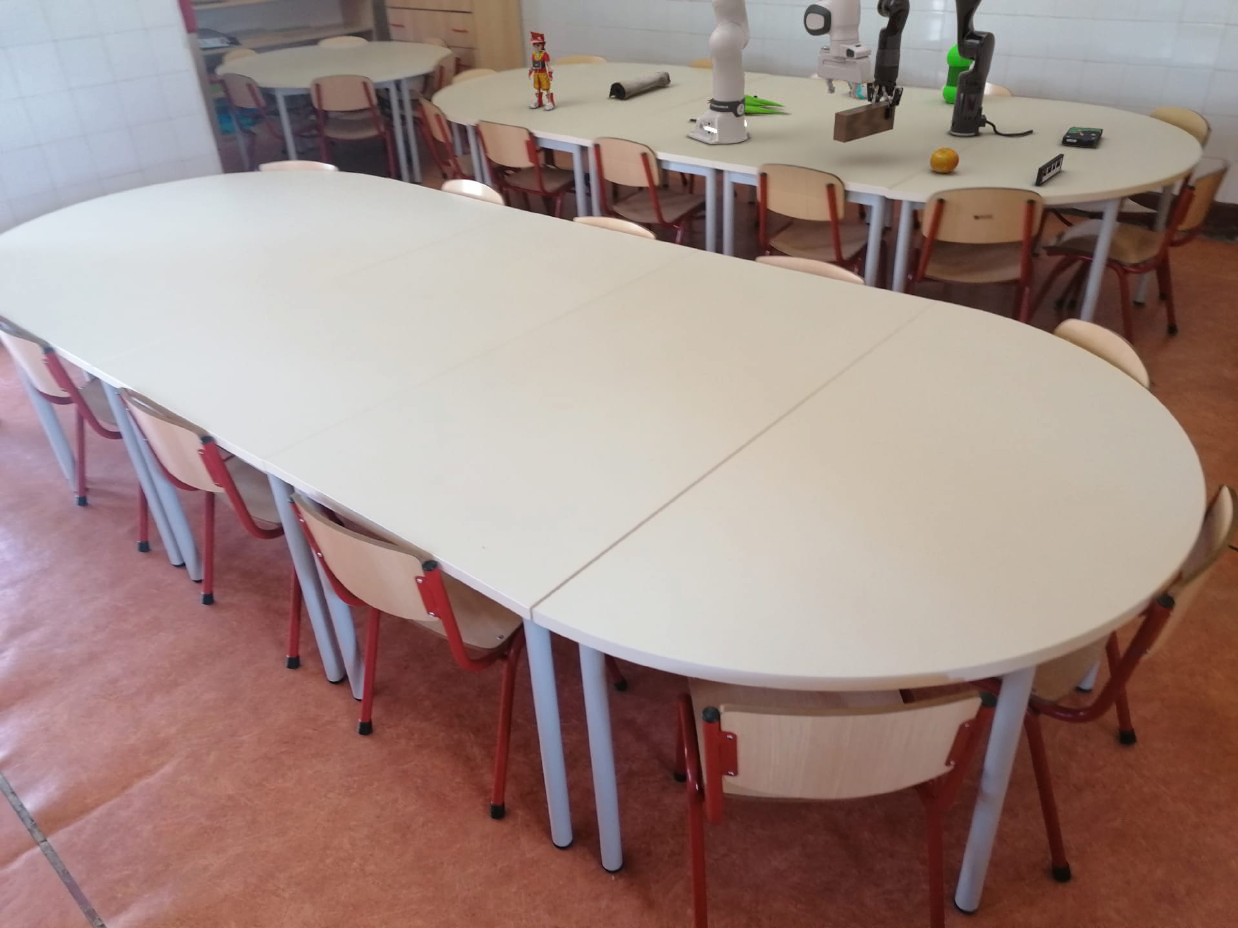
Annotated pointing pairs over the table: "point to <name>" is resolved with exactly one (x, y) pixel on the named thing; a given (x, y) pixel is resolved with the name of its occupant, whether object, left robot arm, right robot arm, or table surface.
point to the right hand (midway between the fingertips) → (881, 117)
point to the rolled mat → (638, 84)
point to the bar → (862, 122)
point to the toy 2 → (754, 105)
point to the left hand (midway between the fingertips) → (841, 95)
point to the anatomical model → (860, 90)
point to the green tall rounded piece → (954, 73)
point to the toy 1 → (541, 71)
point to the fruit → (944, 160)
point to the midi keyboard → (1049, 169)
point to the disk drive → (1082, 136)
